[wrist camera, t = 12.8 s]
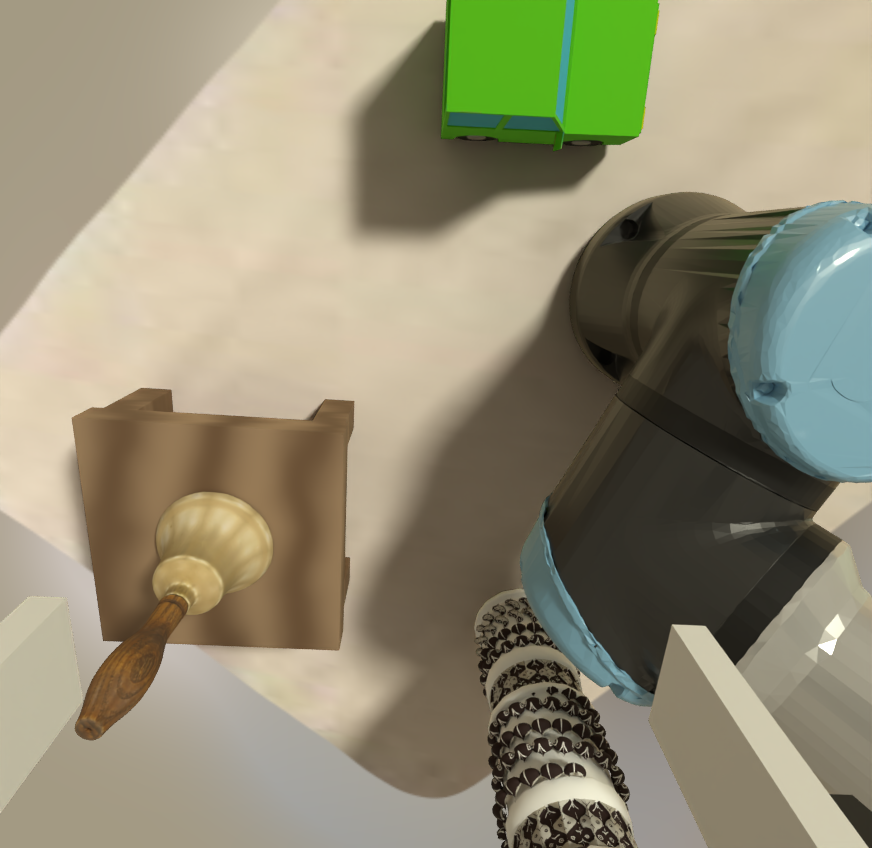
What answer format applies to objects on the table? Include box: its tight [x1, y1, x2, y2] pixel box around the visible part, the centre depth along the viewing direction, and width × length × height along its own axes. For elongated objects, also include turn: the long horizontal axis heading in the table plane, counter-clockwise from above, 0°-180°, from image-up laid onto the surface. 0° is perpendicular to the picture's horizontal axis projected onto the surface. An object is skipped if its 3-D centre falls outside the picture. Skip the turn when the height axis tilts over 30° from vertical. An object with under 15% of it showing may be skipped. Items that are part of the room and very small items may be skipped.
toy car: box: [441, 0, 659, 151], centre depth 35 cm, size 10×13×10 cm
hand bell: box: [75, 492, 273, 740], centre depth 33 cm, size 8×8×16 cm
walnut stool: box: [72, 388, 354, 650], centre depth 44 cm, size 18×18×9 cm
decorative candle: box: [474, 588, 638, 848], centre depth 42 cm, size 9×9×25 cm
